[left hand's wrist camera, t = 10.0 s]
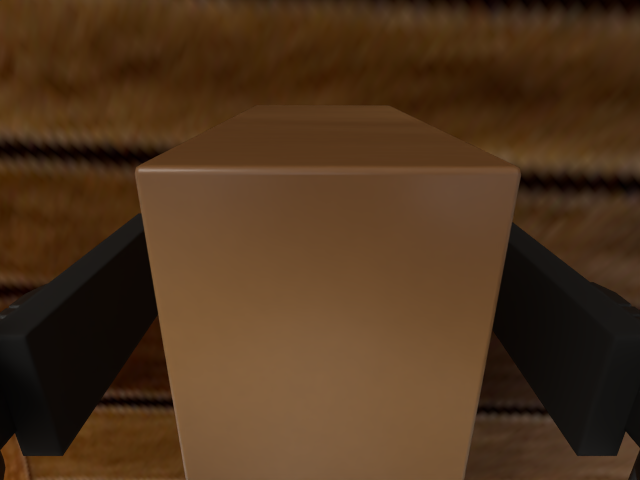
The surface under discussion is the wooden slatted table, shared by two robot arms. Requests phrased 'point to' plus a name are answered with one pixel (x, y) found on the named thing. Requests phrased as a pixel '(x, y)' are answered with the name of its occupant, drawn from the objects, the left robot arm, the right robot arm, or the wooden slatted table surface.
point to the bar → (326, 291)
